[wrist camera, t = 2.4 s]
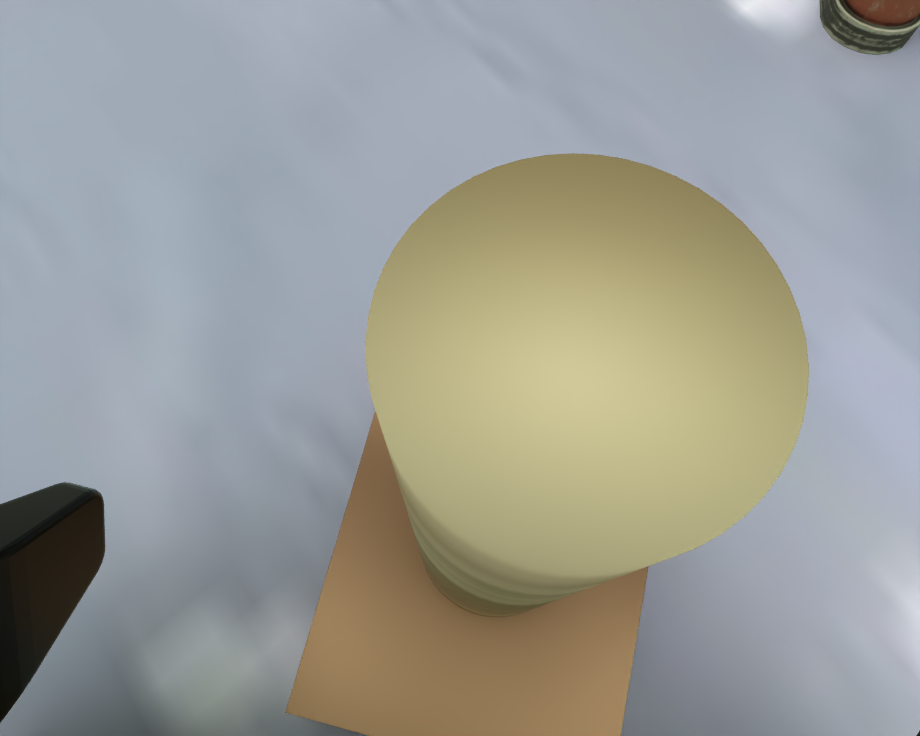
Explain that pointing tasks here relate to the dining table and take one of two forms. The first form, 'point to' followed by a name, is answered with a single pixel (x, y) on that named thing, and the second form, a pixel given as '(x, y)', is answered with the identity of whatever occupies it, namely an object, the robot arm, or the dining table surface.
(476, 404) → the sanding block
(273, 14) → the dining table surface
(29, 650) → the robot arm
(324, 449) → the dining table surface
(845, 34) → the lighter
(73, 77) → the dining table surface
